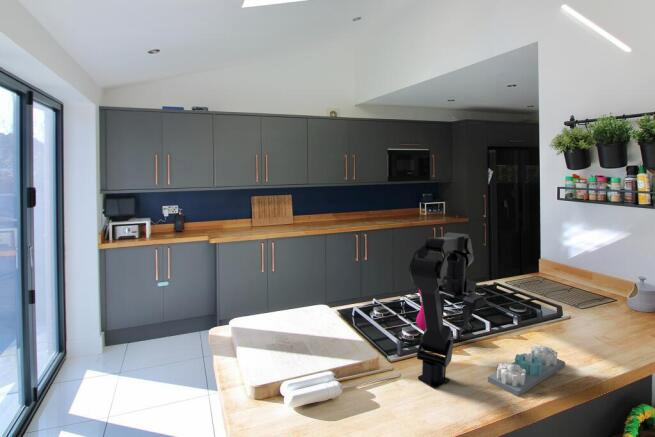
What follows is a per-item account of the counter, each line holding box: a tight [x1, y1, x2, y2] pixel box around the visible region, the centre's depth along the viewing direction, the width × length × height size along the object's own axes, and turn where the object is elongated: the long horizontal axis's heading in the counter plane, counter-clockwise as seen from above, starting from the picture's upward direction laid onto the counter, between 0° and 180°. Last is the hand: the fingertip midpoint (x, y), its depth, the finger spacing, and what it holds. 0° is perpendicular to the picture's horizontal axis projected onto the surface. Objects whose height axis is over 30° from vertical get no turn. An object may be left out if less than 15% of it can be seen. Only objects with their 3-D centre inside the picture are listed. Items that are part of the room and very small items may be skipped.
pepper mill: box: [415, 289, 426, 331], centre depth 144 cm, size 7×7×20 cm
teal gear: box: [514, 352, 543, 376], centre depth 118 cm, size 7×7×3 cm
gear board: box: [487, 344, 566, 397], centre depth 118 cm, size 26×9×6 cm, turn 125°
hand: (453, 320), depth 127 cm, fingers open, 9 cm apart
